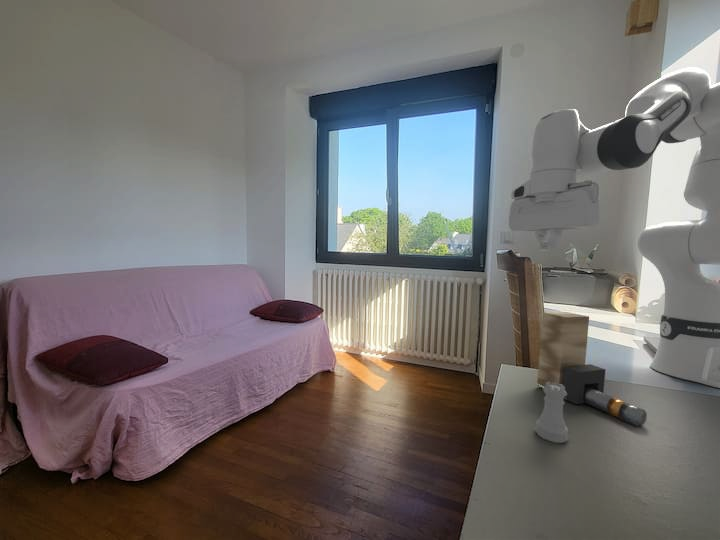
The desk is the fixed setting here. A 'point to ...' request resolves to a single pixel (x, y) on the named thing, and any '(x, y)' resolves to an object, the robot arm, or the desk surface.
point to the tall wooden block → (561, 345)
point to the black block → (582, 381)
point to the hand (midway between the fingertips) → (546, 250)
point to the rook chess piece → (553, 415)
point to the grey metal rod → (615, 406)
